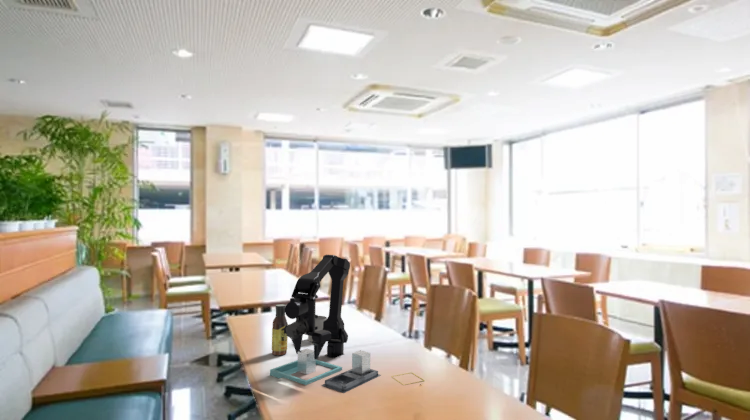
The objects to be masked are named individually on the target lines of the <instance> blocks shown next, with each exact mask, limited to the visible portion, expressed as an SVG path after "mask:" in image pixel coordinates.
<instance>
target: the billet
mask: <svg viewBox="0 0 750 420" xmlns="http://www.w3.org/2000/svg"><path fill="white" fill-rule="evenodd" d="M297 360H298V367H297V372H296V373H301V374H303V375H309V374H311V373H314V372H316V366H317V365H316V360H317V359H315V358H314V349H309V348H304V349H302V350H301V349H300V351H298V354H297Z"/></svg>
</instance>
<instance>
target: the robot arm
mask: <svg viewBox="0 0 750 420" xmlns="http://www.w3.org/2000/svg"><path fill="white" fill-rule="evenodd" d="M350 267H351V263H350V261H348V259H347V258H343V257H339V256H338V255H335V254H325V255H323V257H322V259H321V260H320V261H319V262H318V263H317V264H316V266H315V267H314V268H313V269H312V270H311V271H310V272H307V273H304V274H303V275H302V276H300V277H299V278H298V279H297V281H296V284H295V286H294V289H293V291H292V294H291V298H289V302H288V303H286V304H285V306H286V307H285V316H286V317H287V318H288V319H291V320H294V319H295V321H293V322H292V323H289V324H288V325H286V326H285V328H284V333H285V334H286V335H287V336H288V338H290V339H291V341H292V345H293V347H294V350H295V353H296V355H298V351H301V347H302V342H303V336H304V335H306V336H308V335H309V336H312V340H313V341H311V342H310V343H312V345H313V350H314V358H315V359H316V360H318V358H319V356H320V354H321V352H322V349H323V347H324V346H325V344H327V346H326V354H324V356H325V357H328V358H332V359H336V358H338V357H339V358H340V357H341V356H344V355H345V353H344V352H345V351H344V345H345V344H347V342H348V340H349V334H348V333H347V331H346V329H345V323H344V320H343V318H342V307H343V306H342V305H343V293H344V281H345V280H346V278H347V277H348V275H349V270H350ZM327 274H329V277H330V279H331V285H330V286H331V288H330V299H329V309H328V310H329V311H328V317H327V319H326V320H324V322H323V330H319V331H315V330H317V329H318V326H315V318H318V316H319V315H318V314H316V299H318V298H319V295H317V293H318V292H319V290H320V288H321V282H322V280H323V279H324V277H326V275H327Z"/></svg>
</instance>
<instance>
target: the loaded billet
mask: <svg viewBox="0 0 750 420" xmlns="http://www.w3.org/2000/svg"><path fill="white" fill-rule="evenodd" d="M351 369H352V374H356V375H359V376H362V377H363V376H365V375H367V374H369V373H370V369H371V352H369V351H365V350H362V349H361V350H358V351H354V352H352V355H351Z"/></svg>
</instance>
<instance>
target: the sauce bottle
mask: <svg viewBox="0 0 750 420" xmlns="http://www.w3.org/2000/svg"><path fill="white" fill-rule="evenodd" d="M285 307H286V304H282V303H281V304H276V305H275V317H274V319H273V320H272V329H271V350H272V351H271V354H272V355H273V356H283V355H286V354H287V352H288V351H287V350H288V338H289V337H288V336H287V335H286V334H285V333H284V328H285V326H286V325H289V324H288V321H287V318H286V317H287V316H286V313H285Z"/></svg>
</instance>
